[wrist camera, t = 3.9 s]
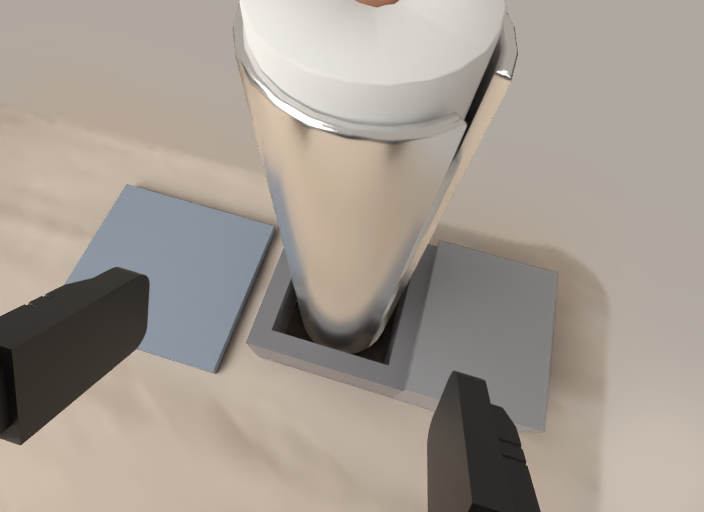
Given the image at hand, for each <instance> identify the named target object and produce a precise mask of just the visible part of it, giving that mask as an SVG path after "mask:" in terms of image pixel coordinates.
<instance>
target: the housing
mask: <svg viewBox="0 0 704 512" xmlns="http://www.w3.org/2000/svg"><path fill="white" fill-rule="evenodd" d="M557 281H558V273H556V272H552V271H548V270H545V269H541V268H538V267H534V266H531V265H527V264H523V263H520V262H516V261H513V260H509V259H506V258H502V257H498V256H495V255H491V254H488V253H484V252H480V251H477V250H473V249H470V248H466V247H463V246H459V245H455V244H452V243H448V242H445V241H441V240H440V241H439V243H438V244H437V246H433V245H429V244H428V245H427V247H426V249H425V251H424V253H423V255H422V256H421V258H420V260H419V262H418V264H417V266H416V268H415V270H414V272H413V274H412V276H411V278H410V280H409V282H408V284H407V286H406V288H405V290H404V291H403V293H402V295H401V297H400V299H399V303H398V307H397V311H396V315H395V319H394V322H393V326H392V330H391V334H390V338H389V342H388V346H387V350H386V354H385V358H384V362H383V364H382V363H378V362H375V361H372V360H369V359H365V358H362V357H359V356H355V355H352V354H349V353H346V352H342V351H339V350H336V349H332V348H329V347H326V346H323V345H319V344H316V343H313V342H309V341H306V340H303V339H300V338H296V337H293V336H290V335H286V334H285V332H286V329H287V326H288V324H289V321H290V318H291V315H292V313H293V310H294V307H295V304H296V302H297V297H296V293H295V289H294V285H293V281H292V277H291V273H290V269H289V265H288V261H287V257H286V253H285V249H283V251H282V254H281V256H280V259H279V261H278V264H277V266H276V269H275V271H274V274H273V276H272V279H271V281H270V284H269V286H268V289H267V291H266V294H265V296H264V299H263V301H262V304H261V306H260V309H259V311H258V314H257V316H256V319H255V321H254V324H253V326H252V329H251V331H250V334H249V336H248V339H247V342H246V343H247V344H248V345H249V347H250V348H251V349H252V350H253V351H254V352H255V353H256V354H257V355H258V356H259V357H262V358H265V359H268V360H271V361H275V362H278V363H281V364H284V365H287V366H291V367H294V368H297V369H300V370H304V371H307V372H310V373H313V374H317V375H320V376H323V377H326V378H329V379H333V380H336V381H339V382H342V383H346V384H349V385H352V386H355V387H358V388H362V389H365V390H368V391H371V392H375V393H378V394H381V395H384V396H388V397H391V398H394V399H397V400H400V401H404V402H407V403H410V404H413V405H417V406H420V407H423V408H426V409H430V410H433V411H435V410H436V408H437V406H438V403H439V401H440V398H441V396H442V393H443V391H444V388H445V386H446V384H447V381H448V379H449V376H450V375H451V373H452V372H453V371H458V372H461V373H465V374H468V375H471V376H474V377H478V378H481V379H484V380H485V381H486V384H487V389H488V393H489V397H490V402H491V404H493V405H497V406H500V407H503V409H504V410H505V411H506V413H507V414H508V416H509V417H510V419H511V420H512V421H513V423H514V424H515V426H516V428H517V432H544V430H545V418H546V407H547V396H548V384H549V373H550V361H551V350H552V339H553V327H554V316H555V304H556V293H557Z"/></svg>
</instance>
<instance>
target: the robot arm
mask: <svg viewBox="0 0 704 512" xmlns="http://www.w3.org/2000/svg"><path fill="white" fill-rule="evenodd" d="M149 290H150V282H149V278H148V277H147V276H146V275H144V274H140V273H137V272H134V271H131V270H127V269H124V268H121V267H114V268H111V269H109V270H107V271H105V272H103V273H101V274H99V275H97V276H95V277H94V278H92V279H86V280H82V281H78V282H73V283H69V284H65V285H63V286H61V287H59V288H57V289H55V290H53V291H51V292H49V293H47V294H46V295H45V296H44V297H43V296H41V297H39V298H37V299H35V300H33V301H31V302H29V304H28V305H25V304H24V305H22V306H20V307H18V308H16V309H14V310H12V311H10V312H8V313H6V314H4V315H2V316H0V438H1V439H4V440H6V441H9V442H12V443H15V444H18V445H22V444H23V443H24V442H25V441H27V440H28V439H29V438H30V437H31V436H33V435H34V434H35V433H36V432H37V431H39V430H40V429H41V428H42V427H43V426H45V425H46V424H47V423H48V422H49V421H51V420H52V419H53V418H54V417H55V416H57V415H58V414H59V413H60V412H61V411H63V410H64V409H65V408H66V407H67V406H69V405H70V404H71V403H72V402H73V401H75V400H76V399H77V398H78V397H79V396H81V395H82V394H83V393H84V392H85V391H87V390H88V389H89V388H90V387H91V386H93V385H94V384H95V383H96V382H97V381H99V380H100V379H101V378H102V377H103V376H105V375H106V374H107V373H108V372H109V371H111V370H112V369H113V368H114V367H115V366H117V365H118V364H119V363H120V362H121V361H123V360H124V359H125V358H126V357H127V356H129V355H130V354H131V353H132V352H133V351H135V350H136V349H137V348H138V346H139V345H140V344H141V342H142V340H143V339H144V336H145V334H146V331H147V324H148V307H149ZM427 466H428V512H541V511H540V508H539V505H538V501H537V498H536V494H535V491H534V487H533V484H532V480H531V477H530V473H529V470H528V466H526V459H525V456H524V452H523V449H521V442H520V439H519V435H518V432H517V428H516V426H515V424H514V423H513V421H512V420H511V419H510V417H509V416H508V414H507V413H506V411H505V410H504V409H503V407H500V406H497V405H493V404H491V402H490V397H489V393H488V389H487V384H486V381H485V380H484V379H481V378H478V377H474V376H471V375H468V374H465V373H461V372H458V371H453V372H452V373H451V375H450V376H449V379H448V381H447V384H446V386H445V388H444V391H443V393H442V396H441V398H440V401H439V403H438V406H437V408H436V410H435V413H434V415H433V418H432V421H431V424H430V428H429V434H428V442H427Z"/></svg>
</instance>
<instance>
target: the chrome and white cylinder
mask: <svg viewBox="0 0 704 512" xmlns="http://www.w3.org/2000/svg"><path fill="white" fill-rule="evenodd" d="M239 1H240V3H239V7H238V11H237V14H236V18H235V21H234V25H233V36H234V46H235V55H236V60H237V64H238V68H239V72H240V76H241V80H242V84H243V88H244V92H245V96H246V100H247V104H248V108H249V111H250V115H251V119H252V123H253V127H254V131H255V135H256V139H257V143H258V147H259V151H260V155H261V159H262V163H263V167H264V171H265V175H266V178H267V182H268V186H269V190H270V194H271V198H272V202H273V206H274V210H275V214H276V218H277V222H278V226H279V230H280V234H281V238H282V241H283V245H284V249H285V253H286V257H287V261H288V265H289V269H290V273H291V277H292V281H293V285H294V289H295V293H296V297H297V300H298V304H299V308H300V312H301V316H302V320H303V324H304V327H305V329H306V331H307V333H308V335H309V336H310V338H311V339H312V340H313V341H314V342H315V343H316V344H319V345H323V346H326V347H329V348H332V349H336V350H339V351H342V352H346V353H349V354H354V353H359V352H361V351H363V350H365V349H367V348H369V347H370V346H371V345H372V344H373V343H375V342H376V341H377V340H378V338H379V337H380V335H381V334H382V332H383V330H384V328H385V326H386V325H387V323H388V321H389V319H390V317H391V315H392V313H393V311H394V309H395V307H396V305H397V303H398V301H399V299H400V297H401V295H402V293H403V291H404V290H405V288H406V286H407V284H408V282H409V280H410V278H411V276H412V274H413V272H414V270H415V268H416V266H417V264H418V262H419V260H420V258H421V256H422V255H423V253H424V251H425V249H426V247H427V245H428V243H429V241H430V239H431V237H432V235H433V233H434V231H435V229H436V227H437V225H438V223H439V221H440V220H441V218H442V216H443V214H444V212H445V210H446V208H447V206H448V204H449V202H450V200H451V198H452V196H453V194H454V192H455V190H456V188H457V187H458V185H459V183H460V180H461V179H462V177H463V175H464V173H465V171H466V169H467V167H468V165H469V163H470V161H471V159H472V157H473V155H474V153H475V151H476V150H477V148H478V146H479V144H480V142H481V140H482V138H483V136H484V134H485V132H486V130H487V128H488V126H489V124H490V122H491V120H492V118H493V116H494V115H495V113H496V110H497V109H498V107H499V105H500V103H501V101H502V99H503V97H504V95H505V93H506V91H507V89H508V87H509V85H510V83H511V80H512V76H513V72H514V68H515V64H516V60H517V56H518V50H517V42H516V34H515V27H514V25H513V23H512V21H511V19H510V17H509V15H508V13H507V7H506V0H239Z"/></svg>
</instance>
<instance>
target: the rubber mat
mask: <svg viewBox="0 0 704 512" xmlns="http://www.w3.org/2000/svg"><path fill="white" fill-rule="evenodd" d="M274 233H275V228H274V226H272V225H268V224H265V223H261V222H258V221H254V220H251V219H247V218H244V217H240V216H237V215H233V214H230V213H226V212H223V211H219V210H216V209H212V208H209V207H205V206H202V205H198V204H195V203H191V202H188V201H184V200H181V199H177V198H174V197H170V196H167V195H163V194H160V193H156V192H153V191H149V190H145V189H142V188H138V187H135V186H131V185H128V184H127V185H126V186H125V188H124V189H123V191H122V193H121V194H120V196H119V198H118V199H117V201H116V202H115V204H114V206H113V207H112V209H111V210H110V212H109V214H108V215H107V217H106V218H105V220H104V222H103V223H102V225H101V227H100V228H99V230H98V231H97V233H96V235H95V236H94V238H93V239H92V241H91V243H90V244H89V246H88V247H87V249H86V251H85V252H84V254H83V256H82V257H81V259H80V260H79V262H78V264H77V265H76V267H75V268H74V270H73V272H72V273H71V275H70V276H69V278H68V280H67V281H66V283H65V284H69V283H73V282H78V281H82V280H86V279H92V278H94V277H95V276H97V275H99V274H101V273H103V272H105V271H107V270H109V269H111V268H114V267H121V268H124V269H127V270H131V271H134V272H137V273H140V274H144V275H146V276H147V277H148V278H149V282H150V290H149V307H148V324H147V331H146V334H145V336H144V339H143V340H142V342H141V344H140V345H139V346H138V348H137V349H139V350H142V351H145V352H148V353H151V354H154V355H158V356H161V357H164V358H167V359H170V360H173V361H177V362H180V363H183V364H186V365H189V366H193V367H196V368H199V369H202V370H205V371H208V372H212V373H215V374H216V372H217V370H218V367H219V365H220V362H221V360H222V358H223V355H224V353H225V350H226V348H227V346H228V343H229V341H230V338H231V336H232V334H233V331H234V329H235V326H236V324H237V322H238V319H239V317H240V314H241V312H242V310H243V307H244V305H245V302H246V300H247V298H248V295H249V293H250V290H251V288H252V286H253V283H254V281H255V278H256V276H257V274H258V271H259V269H260V266H261V264H262V262H263V259H264V257H265V254H266V252H267V250H268V247H269V245H270V242H271V240H272V238H273V235H274Z"/></svg>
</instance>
